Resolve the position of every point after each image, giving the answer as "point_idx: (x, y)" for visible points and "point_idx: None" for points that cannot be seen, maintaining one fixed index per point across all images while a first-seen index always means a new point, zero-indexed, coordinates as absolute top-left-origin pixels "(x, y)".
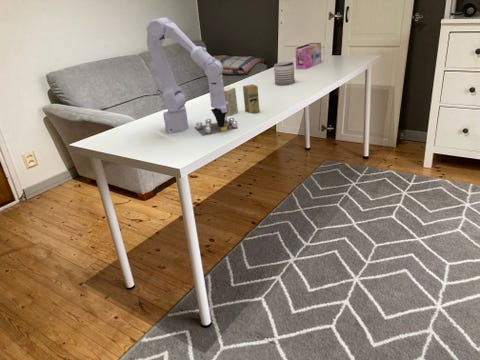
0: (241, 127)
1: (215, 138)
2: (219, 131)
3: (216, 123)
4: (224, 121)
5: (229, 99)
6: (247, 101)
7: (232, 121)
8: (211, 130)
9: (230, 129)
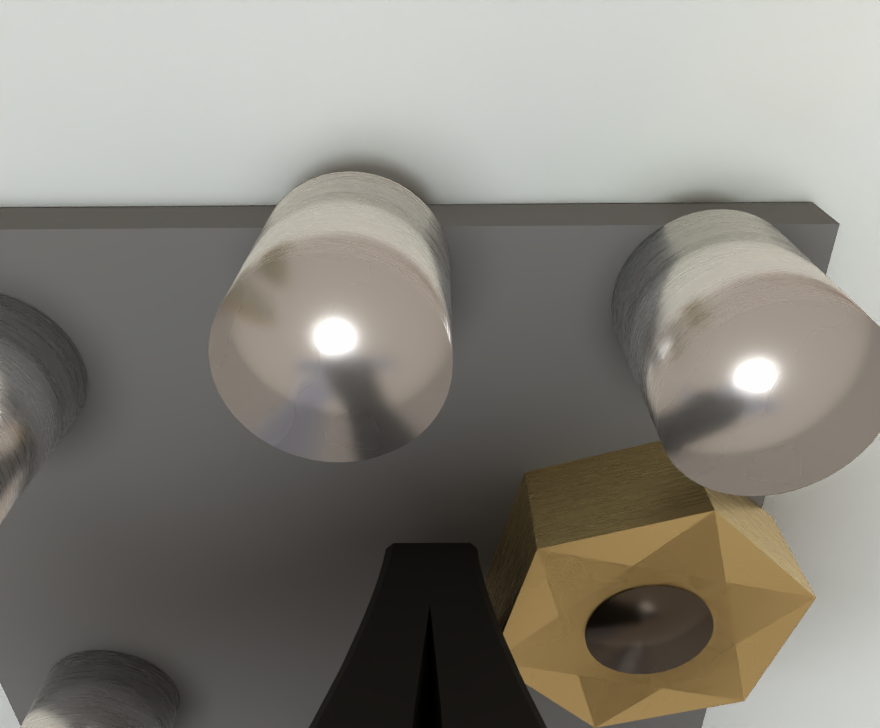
0: (635, 9)
1: (859, 714)
2: None
3: (3, 548)
4: (64, 425)
5: None
6: None
7: (684, 432)
8: None
9: None
